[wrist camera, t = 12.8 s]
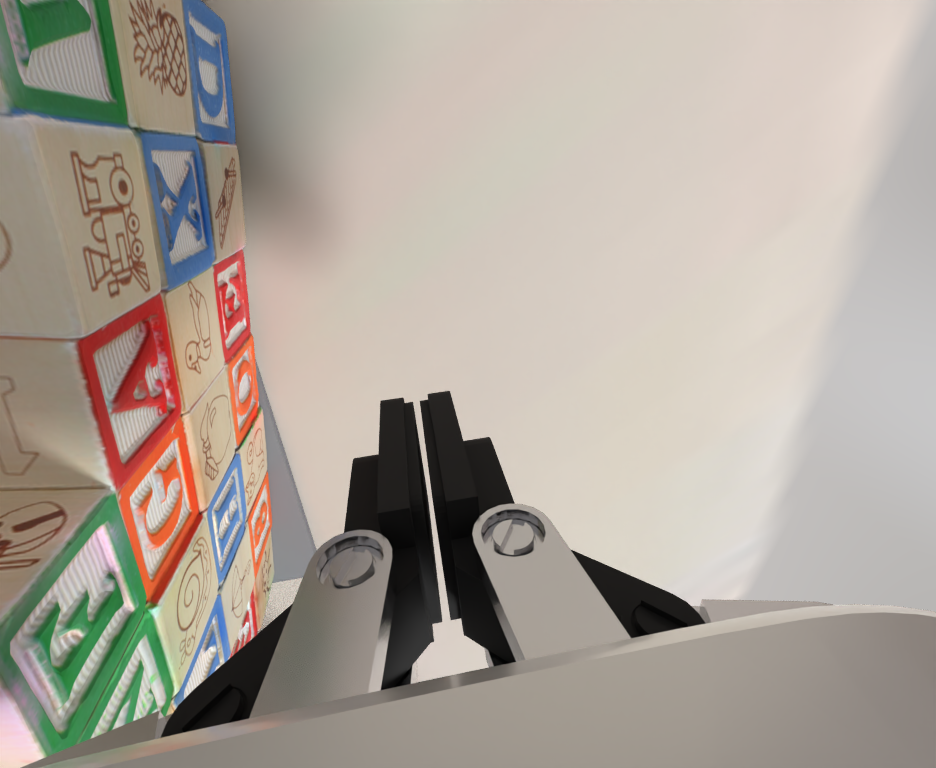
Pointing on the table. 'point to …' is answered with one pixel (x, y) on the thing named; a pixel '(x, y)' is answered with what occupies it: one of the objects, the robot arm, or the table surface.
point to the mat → (284, 503)
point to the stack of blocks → (122, 371)
